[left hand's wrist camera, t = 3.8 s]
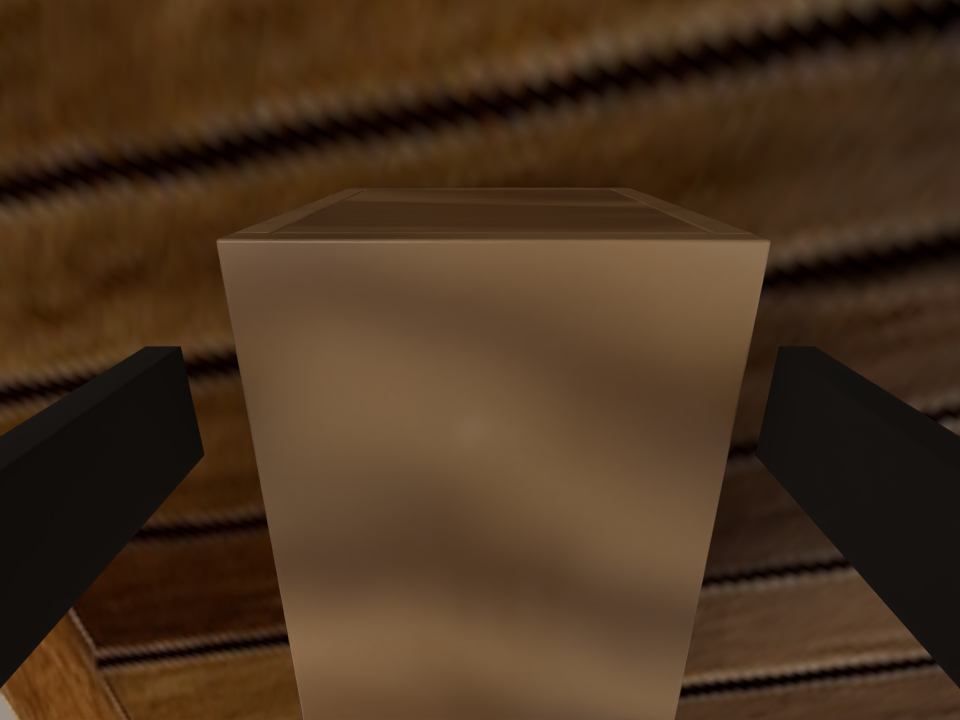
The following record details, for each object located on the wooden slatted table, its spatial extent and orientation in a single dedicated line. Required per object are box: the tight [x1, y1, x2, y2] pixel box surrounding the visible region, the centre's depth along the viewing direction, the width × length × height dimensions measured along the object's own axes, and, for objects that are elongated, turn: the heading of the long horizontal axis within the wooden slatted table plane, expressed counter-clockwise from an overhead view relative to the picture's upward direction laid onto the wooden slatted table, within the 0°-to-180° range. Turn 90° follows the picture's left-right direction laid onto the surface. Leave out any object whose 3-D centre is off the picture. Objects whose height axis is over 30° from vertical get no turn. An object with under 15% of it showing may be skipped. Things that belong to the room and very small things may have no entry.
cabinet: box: [217, 187, 771, 720], centre depth 20 cm, size 18×11×12 cm, turn 0°
